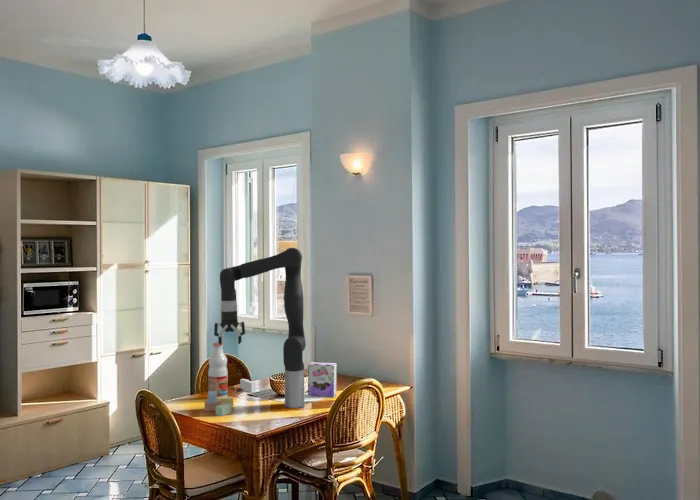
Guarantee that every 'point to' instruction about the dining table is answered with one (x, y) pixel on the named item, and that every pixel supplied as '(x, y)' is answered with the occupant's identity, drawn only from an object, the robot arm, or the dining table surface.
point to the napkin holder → (247, 385)
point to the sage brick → (223, 409)
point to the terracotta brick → (212, 405)
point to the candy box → (322, 379)
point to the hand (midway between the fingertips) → (230, 344)
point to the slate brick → (212, 397)
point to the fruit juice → (218, 372)
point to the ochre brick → (226, 400)
